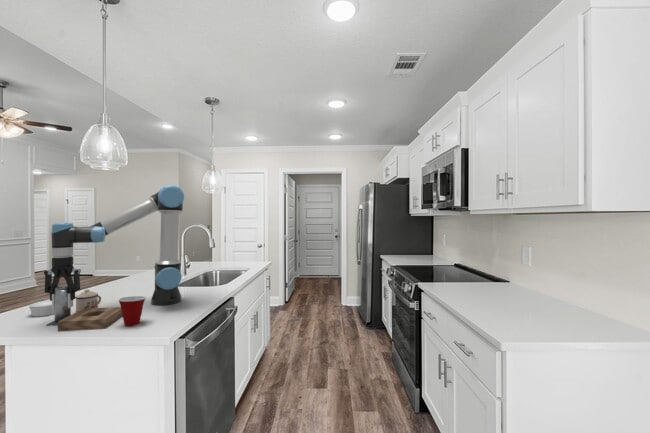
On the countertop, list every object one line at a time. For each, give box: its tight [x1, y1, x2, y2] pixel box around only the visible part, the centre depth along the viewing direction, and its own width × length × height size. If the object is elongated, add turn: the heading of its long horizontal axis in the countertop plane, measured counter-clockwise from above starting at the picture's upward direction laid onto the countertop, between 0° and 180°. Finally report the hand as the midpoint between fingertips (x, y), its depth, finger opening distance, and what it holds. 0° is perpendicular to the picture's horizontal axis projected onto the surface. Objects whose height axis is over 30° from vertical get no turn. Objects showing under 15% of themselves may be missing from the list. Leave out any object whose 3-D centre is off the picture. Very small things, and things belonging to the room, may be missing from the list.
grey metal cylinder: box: [54, 284, 72, 322], centre depth 140 cm, size 6×6×15 cm
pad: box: [46, 319, 58, 327], centre depth 140 cm, size 8×8×1 cm
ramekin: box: [28, 300, 55, 318], centre depth 151 cm, size 11×11×5 cm
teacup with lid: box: [75, 288, 102, 313], centre depth 154 cm, size 12×9×12 cm
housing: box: [57, 306, 123, 332], centre depth 140 cm, size 18×18×4 cm
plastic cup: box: [117, 295, 147, 327], centre depth 138 cm, size 11×11×12 cm
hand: (62, 307), depth 140 cm, fingers closed on grey metal cylinder, 5 cm apart
